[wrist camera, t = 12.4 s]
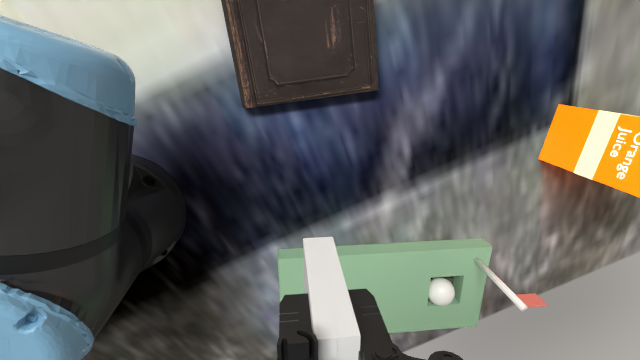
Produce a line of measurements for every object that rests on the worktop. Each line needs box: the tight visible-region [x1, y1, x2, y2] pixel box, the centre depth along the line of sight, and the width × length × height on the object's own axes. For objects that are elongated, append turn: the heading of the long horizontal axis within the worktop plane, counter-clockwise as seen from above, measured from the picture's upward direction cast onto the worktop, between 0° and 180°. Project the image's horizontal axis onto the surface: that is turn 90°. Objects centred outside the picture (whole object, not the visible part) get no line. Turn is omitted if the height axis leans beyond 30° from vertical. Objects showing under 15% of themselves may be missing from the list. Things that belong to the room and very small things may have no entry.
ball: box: [428, 277, 455, 306], centre depth 50 cm, size 4×4×4 cm
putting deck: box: [278, 238, 547, 333], centre depth 45 cm, size 31×14×12 cm, turn 90°
